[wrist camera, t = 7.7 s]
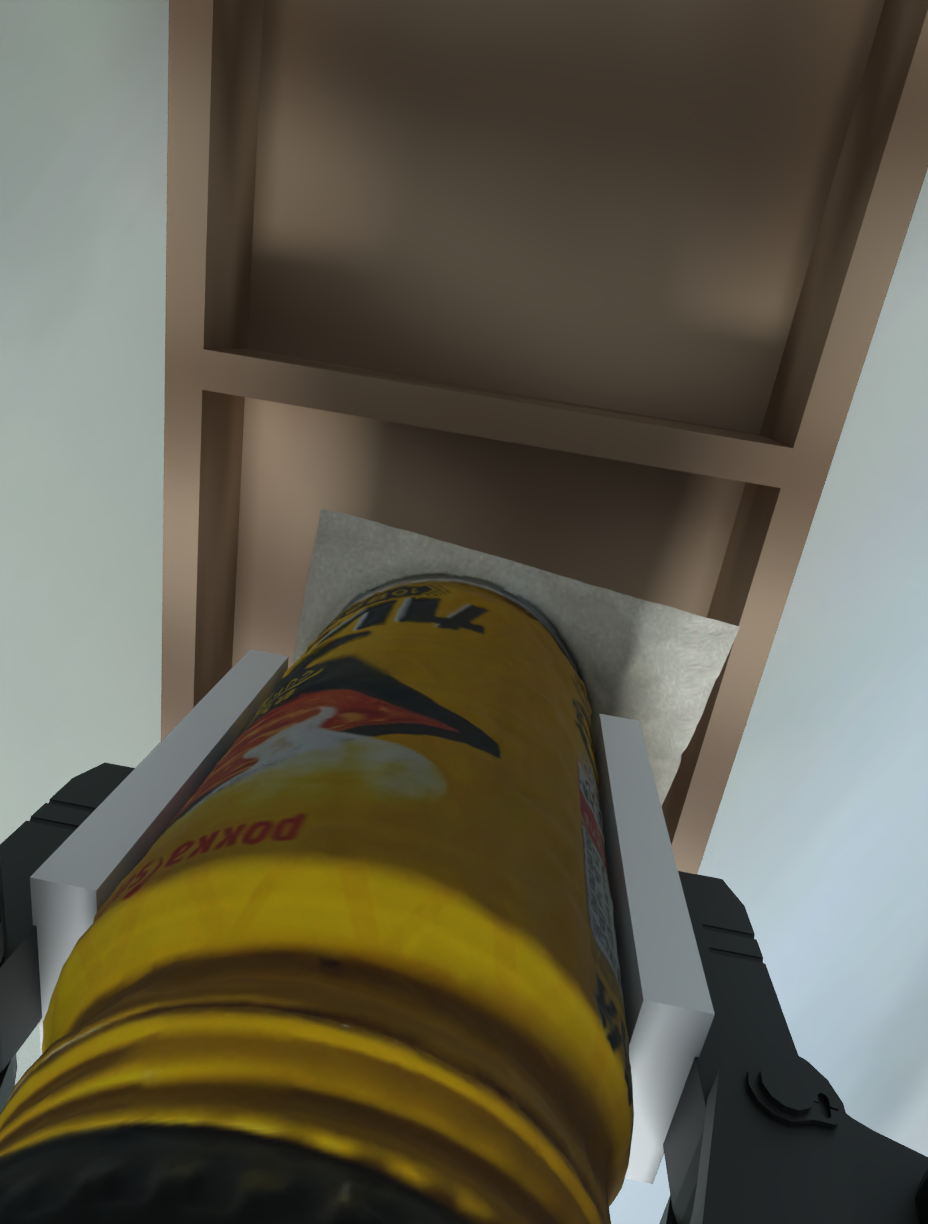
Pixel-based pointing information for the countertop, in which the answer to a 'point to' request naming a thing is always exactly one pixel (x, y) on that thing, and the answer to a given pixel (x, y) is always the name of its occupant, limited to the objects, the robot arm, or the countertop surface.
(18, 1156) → the condiment
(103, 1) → the countertop surface
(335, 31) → the caddy
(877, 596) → the countertop surface
